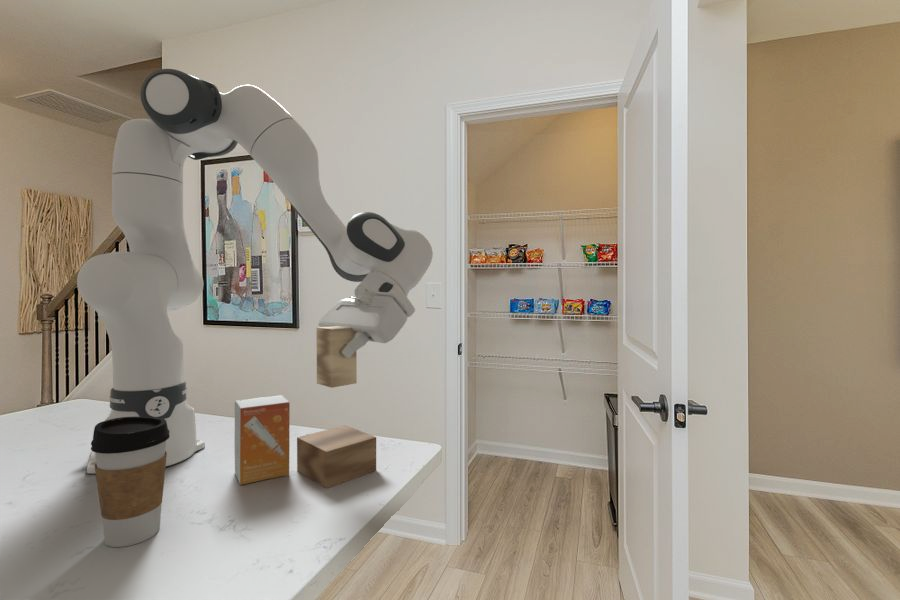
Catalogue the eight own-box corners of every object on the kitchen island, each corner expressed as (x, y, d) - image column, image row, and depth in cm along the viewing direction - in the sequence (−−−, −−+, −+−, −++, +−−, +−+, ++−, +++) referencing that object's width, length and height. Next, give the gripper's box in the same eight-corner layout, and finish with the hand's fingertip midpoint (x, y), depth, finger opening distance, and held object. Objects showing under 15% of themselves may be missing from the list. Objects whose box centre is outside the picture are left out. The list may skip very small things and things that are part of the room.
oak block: (316, 383, 79) (316, 327, 79) (341, 379, 82) (341, 325, 82) (331, 387, 75) (331, 329, 75) (356, 383, 79) (356, 327, 79)
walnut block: (297, 470, 79) (297, 437, 79) (345, 455, 86) (345, 425, 86) (326, 488, 72) (326, 451, 72) (376, 470, 79) (376, 437, 79)
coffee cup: (120, 519, 62) (118, 413, 62) (183, 516, 63) (182, 412, 62) (74, 555, 54) (72, 432, 53) (147, 551, 54) (146, 431, 54)
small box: (239, 486, 73) (239, 408, 72) (234, 473, 78) (233, 399, 78) (290, 475, 77) (290, 401, 77) (282, 463, 82) (281, 394, 82)
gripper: (338, 286, 91) (293, 337, 84) (402, 286, 76) (354, 347, 70) (357, 307, 94) (315, 358, 87) (421, 310, 80) (377, 371, 73)
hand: (333, 353), depth 78 cm, fingers closed on oak block, 5 cm apart
